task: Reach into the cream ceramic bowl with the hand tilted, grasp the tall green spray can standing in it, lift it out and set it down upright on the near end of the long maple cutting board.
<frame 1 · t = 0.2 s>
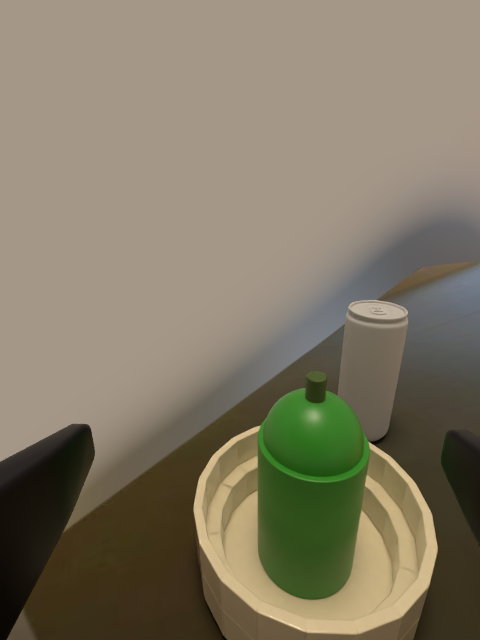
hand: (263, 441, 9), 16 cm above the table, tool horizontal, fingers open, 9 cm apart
green spray can: (304, 547, 21), resting on bowl
bowl: (303, 552, 21), on the table
beverage can: (360, 429, 32), on the table
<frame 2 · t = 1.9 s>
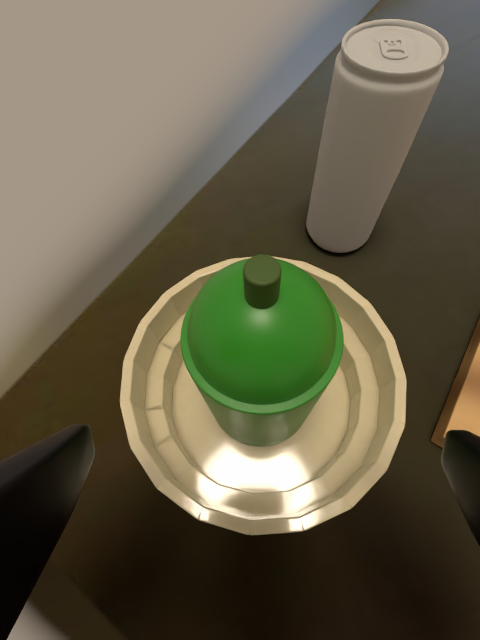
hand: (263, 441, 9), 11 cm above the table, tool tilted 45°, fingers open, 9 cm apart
green spray can: (259, 394, 20), resting on bowl
bowl: (259, 396, 20), on the table
beverage can: (336, 233, 26), on the table
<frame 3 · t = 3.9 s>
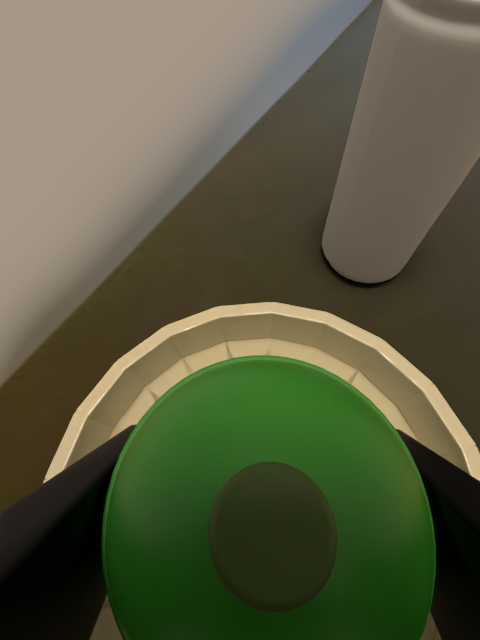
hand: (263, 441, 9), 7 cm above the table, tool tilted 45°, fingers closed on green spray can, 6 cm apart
green spray can: (260, 498, 14), point 1 cm above the table, touching bowl, gripper
bowl: (260, 497, 14), on the table
beverage can: (361, 255, 20), on the table
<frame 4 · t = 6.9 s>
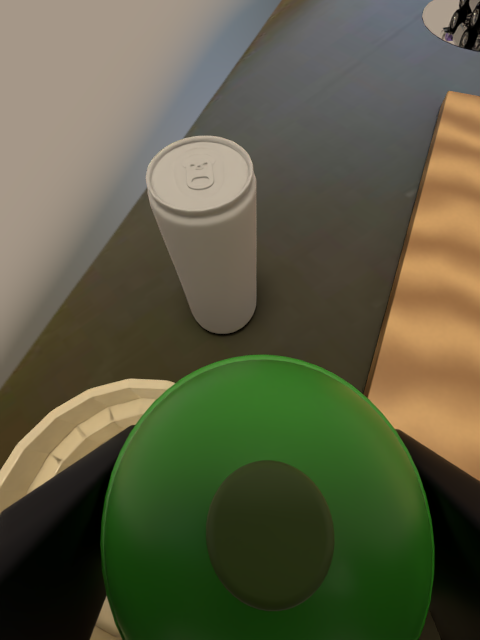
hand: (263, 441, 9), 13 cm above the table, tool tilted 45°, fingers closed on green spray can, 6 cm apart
green spray can: (260, 497, 14), point 6 cm above the table, touching gripper
bowl: (152, 516, 19), on the table
beverage can: (224, 308, 25), on the table
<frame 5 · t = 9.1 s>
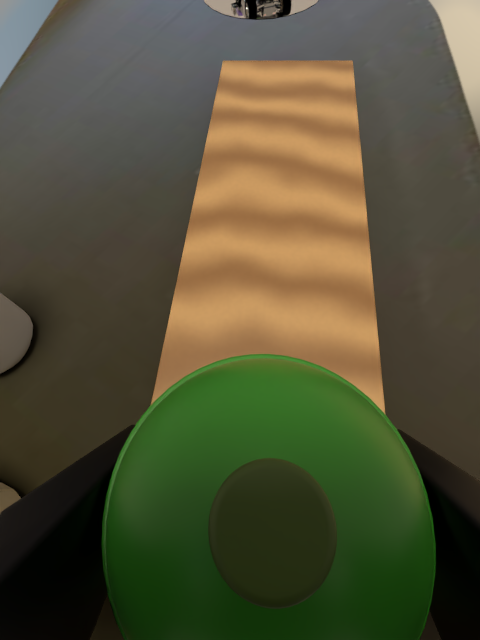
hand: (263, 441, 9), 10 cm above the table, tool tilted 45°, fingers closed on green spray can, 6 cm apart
green spray can: (260, 497, 14), point 4 cm above the table, touching gripper
cutting board: (275, 240, 24), on the table
beverage can: (2, 344, 22), on the table
when the fingers open (8 cm above the table, at t = 10.3 s): green spray can stays where it is, resting on cutting board.
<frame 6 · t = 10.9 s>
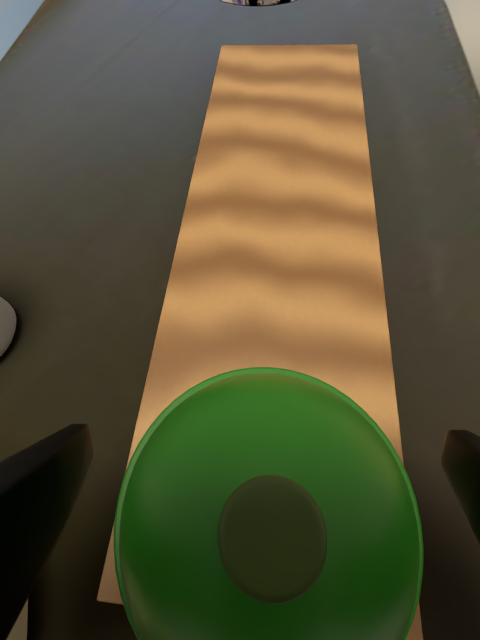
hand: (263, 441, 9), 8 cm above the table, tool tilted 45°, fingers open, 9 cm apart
green spray can: (260, 500, 14), point 1 cm above the table, touching cutting board
cutting board: (276, 229, 23), on the table
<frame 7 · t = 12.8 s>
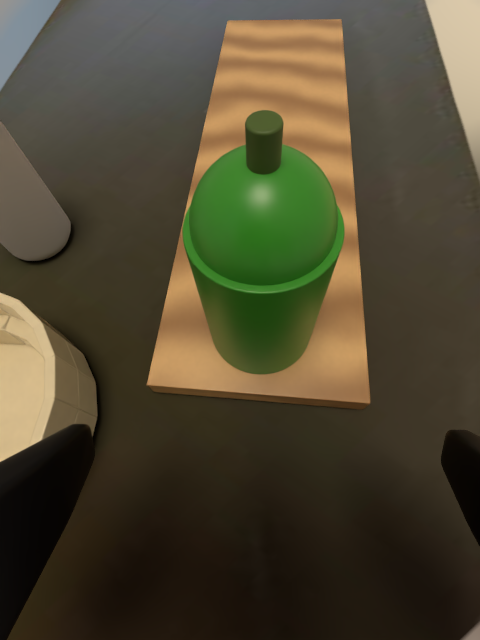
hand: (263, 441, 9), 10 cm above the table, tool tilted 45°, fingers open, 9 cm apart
green spray can: (260, 326, 20), point 1 cm above the table, touching cutting board
cutting board: (273, 161, 28), on the table
beverage can: (44, 240, 26), on the table
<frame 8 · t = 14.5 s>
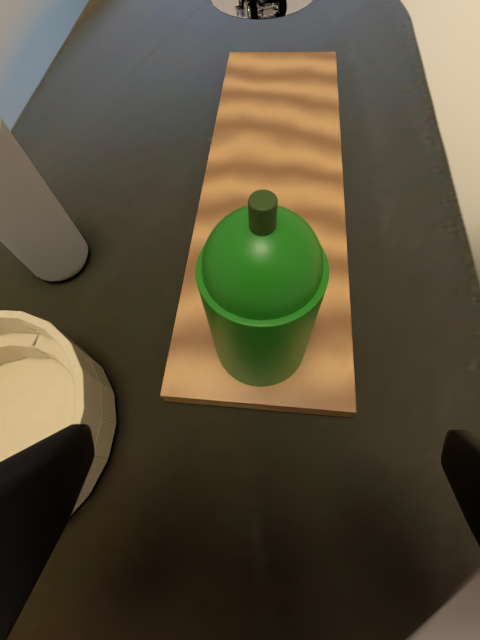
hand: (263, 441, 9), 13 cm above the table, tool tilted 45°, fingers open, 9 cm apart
green spray can: (260, 343, 22), point 1 cm above the table, touching cutting board
cutting board: (272, 188, 31), on the table
bowl: (18, 435, 22), on the table
beverage can: (64, 262, 28), on the table
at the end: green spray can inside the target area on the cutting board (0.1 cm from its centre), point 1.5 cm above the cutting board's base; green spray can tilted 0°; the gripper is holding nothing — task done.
